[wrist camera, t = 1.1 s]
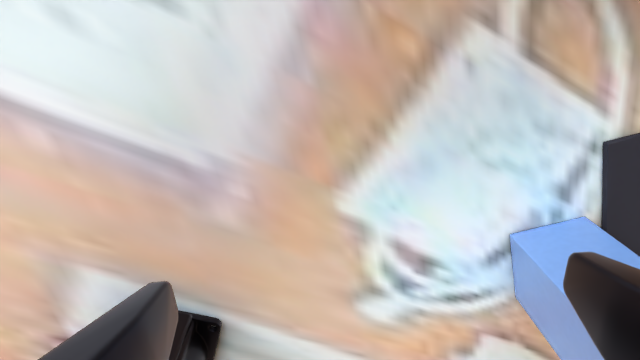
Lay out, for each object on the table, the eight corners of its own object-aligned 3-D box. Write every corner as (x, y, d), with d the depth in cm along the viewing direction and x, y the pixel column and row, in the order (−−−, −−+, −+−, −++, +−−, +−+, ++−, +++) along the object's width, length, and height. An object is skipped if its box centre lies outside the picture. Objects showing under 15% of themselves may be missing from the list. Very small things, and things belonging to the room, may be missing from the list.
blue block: (515, 297, 25) (672, 513, 14) (509, 233, 24) (685, 426, 12) (585, 281, 25) (802, 491, 14) (584, 215, 23) (835, 398, 12)
